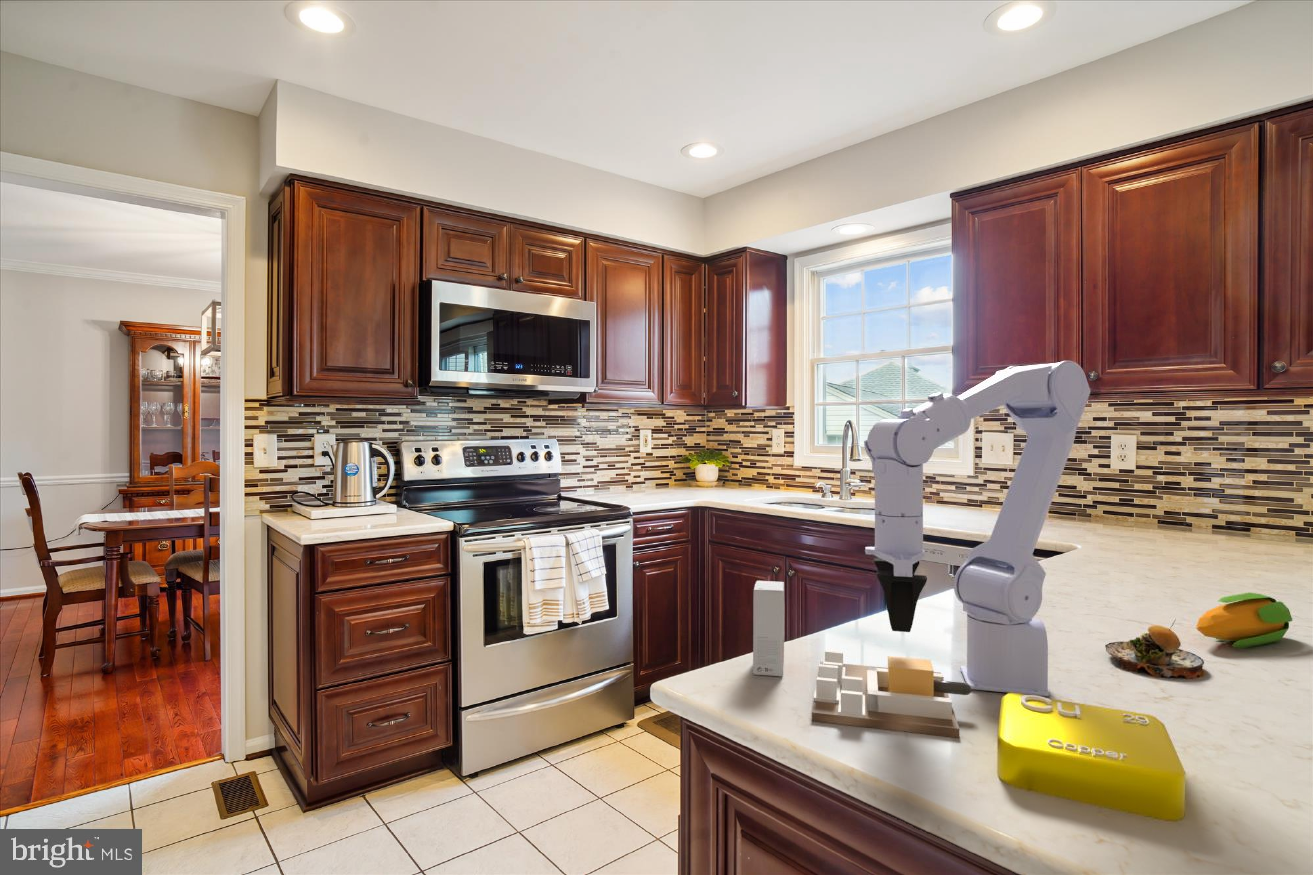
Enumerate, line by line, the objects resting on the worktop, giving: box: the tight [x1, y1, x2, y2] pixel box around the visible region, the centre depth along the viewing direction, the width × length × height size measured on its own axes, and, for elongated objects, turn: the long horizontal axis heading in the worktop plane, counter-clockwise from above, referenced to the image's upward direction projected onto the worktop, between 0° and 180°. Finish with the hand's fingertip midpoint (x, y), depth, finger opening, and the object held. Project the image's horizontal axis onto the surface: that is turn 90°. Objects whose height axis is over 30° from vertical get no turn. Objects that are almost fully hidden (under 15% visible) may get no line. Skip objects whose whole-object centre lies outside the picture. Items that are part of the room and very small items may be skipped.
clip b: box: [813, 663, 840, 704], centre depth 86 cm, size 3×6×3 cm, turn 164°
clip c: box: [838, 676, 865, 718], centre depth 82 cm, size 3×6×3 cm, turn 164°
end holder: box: [867, 666, 953, 720], centre depth 84 cm, size 9×9×2 cm
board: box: [811, 661, 960, 739], centre depth 87 cm, size 16×18×1 cm
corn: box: [1195, 592, 1293, 649], centre depth 109 cm, size 7×8×20 cm
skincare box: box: [752, 580, 785, 677], centre depth 98 cm, size 6×4×12 cm
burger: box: [1104, 618, 1206, 680], centre depth 99 cm, size 12×12×8 cm
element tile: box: [996, 692, 1186, 822], centre depth 69 cm, size 15×15×5 cm
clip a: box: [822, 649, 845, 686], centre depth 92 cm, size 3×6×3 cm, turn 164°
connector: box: [887, 655, 972, 697], centre depth 83 cm, size 9×4×4 cm, turn 73°
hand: (898, 622), depth 86 cm, fingers open, 7 cm apart
